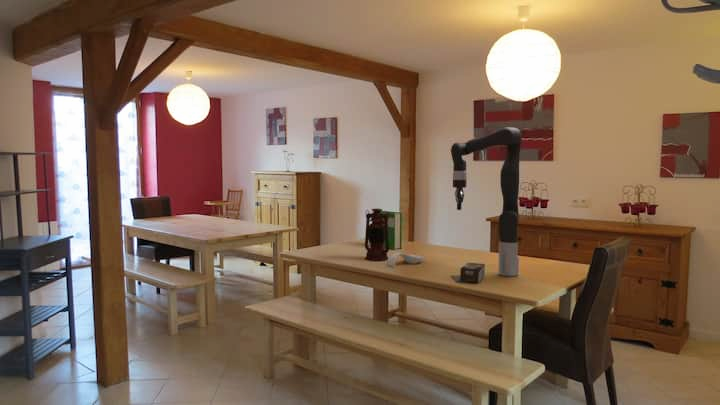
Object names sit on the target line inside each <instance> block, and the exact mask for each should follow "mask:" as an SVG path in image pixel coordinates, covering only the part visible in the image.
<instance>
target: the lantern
mask: <svg viewBox="0 0 720 405" xmlns="http://www.w3.org/2000/svg"><path fill="white" fill-rule="evenodd" d="M371 211H372V212H371V213H370V211H369V210H367V209H366V210H365V218H366V220H365V221H366V222H365V237H364V247H365V250H366V253H365V254H366V255H365V258H364V260H366V261H367V262H386V261H389V257H388V252H389V251H390V249H389V236H388V219H389V212H387V213H388V214H387V213H386V214H387V215H386V214H385V215H383V214H382V213H381V212H380V211H383V209H382V208H371ZM382 218H383V219H384V220H383V219H382ZM370 222H371V223H370ZM385 242H386V249H384V248H383V243H385ZM369 246H370V247H369Z"/></svg>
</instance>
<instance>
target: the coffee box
mask: <svg viewBox="0 0 720 405" xmlns="http://www.w3.org/2000/svg"><path fill="white" fill-rule="evenodd" d="M485 270H486V265H485V263H482V262H481V263H479V262H472V261H471V262H469V261H467V262H466V263H465V264H464V265H463V266H462V267H460V271H459V272H460V274H459V275H460V281H468V282H467V283H480V282H479V281H481V280H482V279H483V278H484V277H485Z"/></svg>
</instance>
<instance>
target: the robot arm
mask: <svg viewBox="0 0 720 405" xmlns="http://www.w3.org/2000/svg"><path fill="white" fill-rule="evenodd" d="M495 146H504V147H505V146H506V156H505V160H504V162H503V164H502V167H501V170H500V176H499V177H500V189H501V194H502V202H503V203H502V211H501V212H502V213H501V214H500V215H499V217H498V266H497V267H498V269H497V271H498V275H500V276H504V277H515V276H519V260H520V259H519V256H518V252H519V250H518V246H519V244H518V243H519V242H518V241H519V236H518V224H519V222H520V213H519V192H520V189H519V188H520V156H521V146H522V132H521V131H520V129H518V128H516V127H509V126H508V127H507V126H506V127H502V128H501V129H499V130H496V131H494V132H492V133H490V134H487V135H483V136H479V137H476V138H472V139H470V140H469V139H468V140H467V141H466V142H455V143H453V144H452V145H451V147H450V153H451V160H452V162H453V172H452V188H455V191H454V197H455V198H454V199H455V202H456V210H457V211H461V210H462V204H463V202H464V197H465V192H464V189H463V188H465V189H466V188H467V161H466V160H465V159H463V156H468V155H470V154H473V153H476V152H480V151H483V150H486V149H488V148H490V147H495Z"/></svg>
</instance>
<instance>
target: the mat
mask: <svg viewBox="0 0 720 405" xmlns="http://www.w3.org/2000/svg"><path fill="white" fill-rule="evenodd" d="M450 276H452V277H451V278H452V279H453V280H454V281H455V283H469V282H468V281H460V274H459V275H450ZM481 282H482V281H481V280H480V281H479V282H478V283H481Z"/></svg>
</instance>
